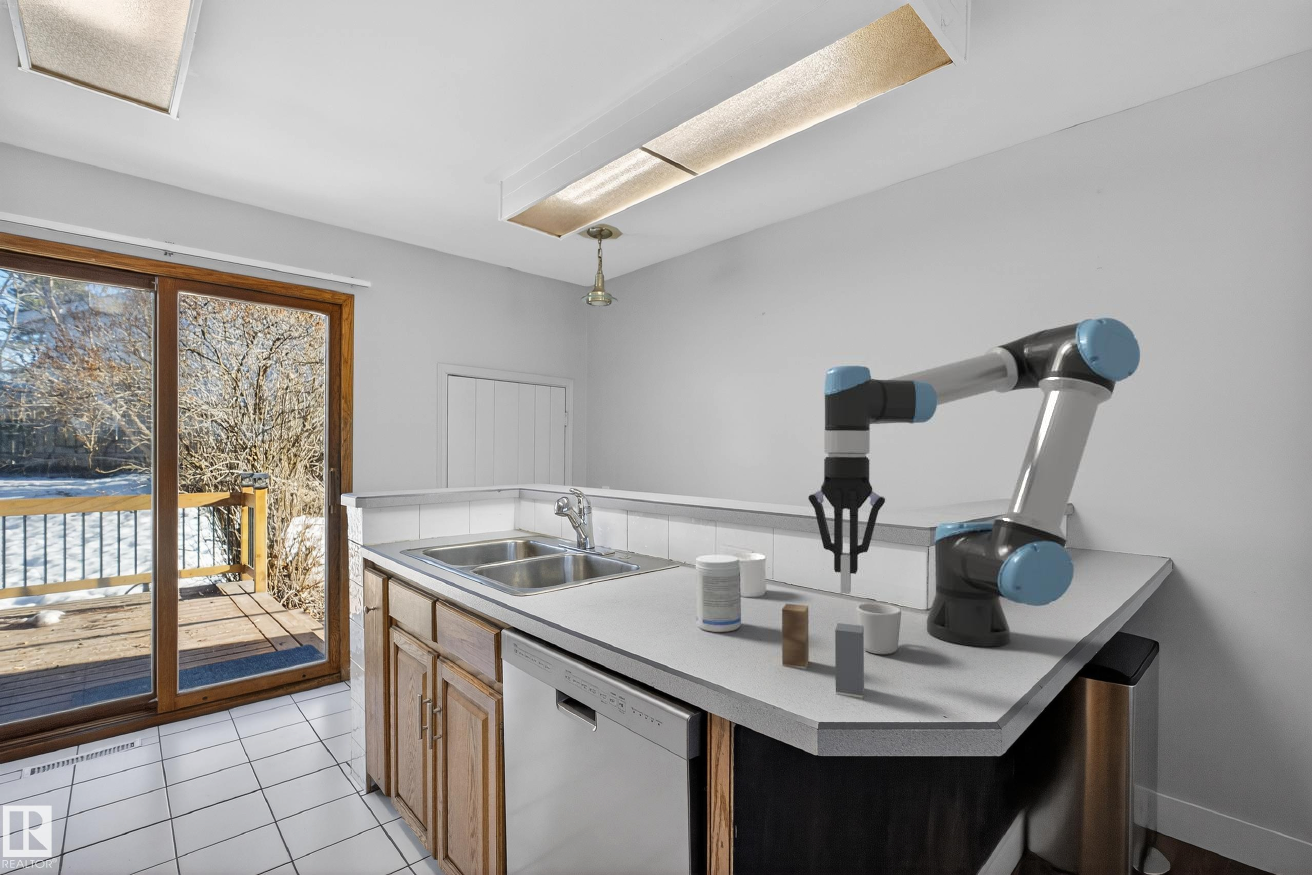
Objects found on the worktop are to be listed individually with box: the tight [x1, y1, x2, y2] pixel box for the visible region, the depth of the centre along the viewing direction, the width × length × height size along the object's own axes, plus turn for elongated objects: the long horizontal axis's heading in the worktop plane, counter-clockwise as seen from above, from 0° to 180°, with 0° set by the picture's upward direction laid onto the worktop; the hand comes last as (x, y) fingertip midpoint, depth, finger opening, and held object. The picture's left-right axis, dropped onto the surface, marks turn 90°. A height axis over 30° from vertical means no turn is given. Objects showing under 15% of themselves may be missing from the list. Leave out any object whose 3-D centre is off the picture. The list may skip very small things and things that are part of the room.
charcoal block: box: [834, 622, 865, 698], centre depth 97 cm, size 4×4×10 cm
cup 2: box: [856, 602, 902, 655], centre depth 117 cm, size 11×8×8 cm
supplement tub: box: [695, 554, 742, 633], centre depth 131 cm, size 10×10×15 cm
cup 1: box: [731, 552, 767, 598], centre depth 160 cm, size 10×10×10 cm
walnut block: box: [781, 603, 810, 670], centre depth 109 cm, size 4×4×10 cm
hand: (845, 591), depth 106 cm, fingers closed
